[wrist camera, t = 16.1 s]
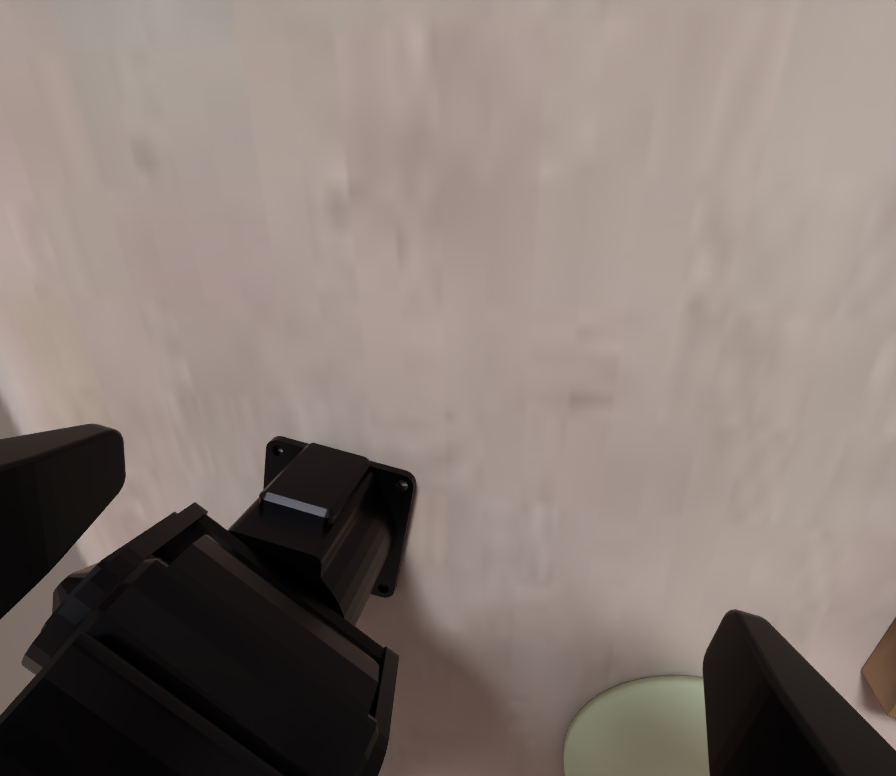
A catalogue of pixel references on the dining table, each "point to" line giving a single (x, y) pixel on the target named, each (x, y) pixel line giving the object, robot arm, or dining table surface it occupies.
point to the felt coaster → (641, 730)
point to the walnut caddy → (884, 671)
